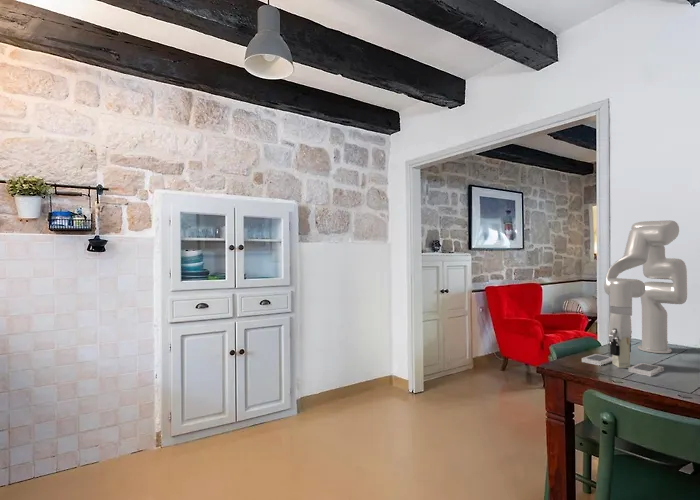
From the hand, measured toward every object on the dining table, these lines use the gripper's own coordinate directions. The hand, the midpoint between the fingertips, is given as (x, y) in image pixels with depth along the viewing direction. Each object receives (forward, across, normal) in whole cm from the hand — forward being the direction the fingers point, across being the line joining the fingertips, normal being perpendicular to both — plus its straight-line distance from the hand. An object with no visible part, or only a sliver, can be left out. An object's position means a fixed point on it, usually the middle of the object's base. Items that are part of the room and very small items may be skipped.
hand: (620, 353), depth 169 cm
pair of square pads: (+5, 0, 0) cm, 5 cm away
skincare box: (+5, 0, 0) cm, 5 cm away
